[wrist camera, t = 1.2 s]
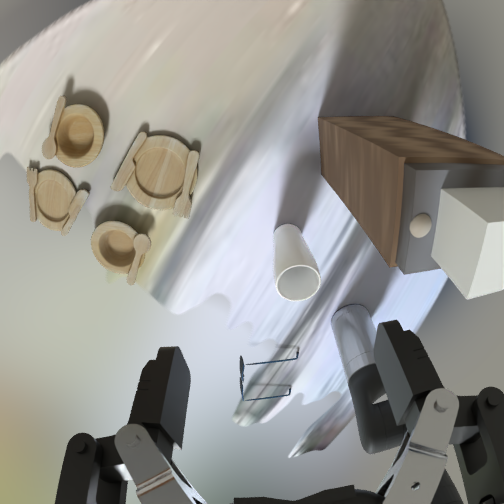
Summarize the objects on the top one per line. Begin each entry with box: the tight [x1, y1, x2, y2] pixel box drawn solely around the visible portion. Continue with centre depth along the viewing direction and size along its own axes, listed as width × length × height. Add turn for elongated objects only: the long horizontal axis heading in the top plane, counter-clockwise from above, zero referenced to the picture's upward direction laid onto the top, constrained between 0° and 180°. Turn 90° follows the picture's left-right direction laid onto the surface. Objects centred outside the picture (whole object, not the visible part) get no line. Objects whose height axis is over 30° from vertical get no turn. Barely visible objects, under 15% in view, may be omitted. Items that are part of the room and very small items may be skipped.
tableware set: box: [27, 96, 199, 285], centre depth 49 cm, size 35×29×4 cm
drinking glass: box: [273, 224, 321, 301], centre depth 50 cm, size 7×7×15 cm
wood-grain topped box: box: [318, 116, 504, 275], centre depth 34 cm, size 14×10×31 cm
